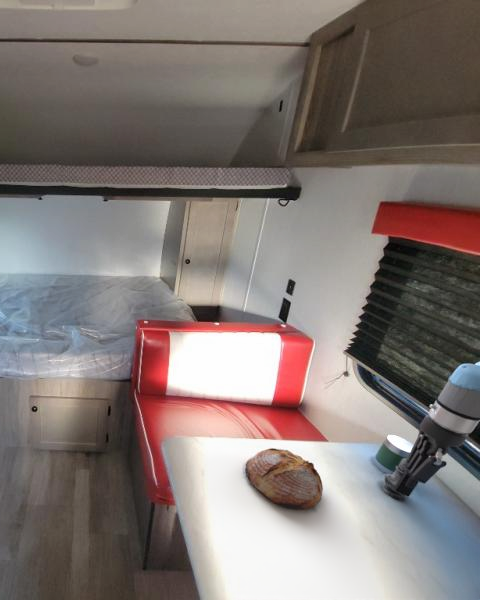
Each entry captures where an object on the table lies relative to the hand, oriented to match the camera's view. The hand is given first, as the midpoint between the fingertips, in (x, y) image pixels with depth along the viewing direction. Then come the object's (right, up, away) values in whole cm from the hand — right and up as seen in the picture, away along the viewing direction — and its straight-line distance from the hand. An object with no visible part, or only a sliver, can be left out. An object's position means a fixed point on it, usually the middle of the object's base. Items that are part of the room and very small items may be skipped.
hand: (401, 491), depth 89 cm
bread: (-31, 0, +3) cm, 31 cm away
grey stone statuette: (+2, -3, +4) cm, 5 cm away
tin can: (+8, 0, +13) cm, 15 cm away
